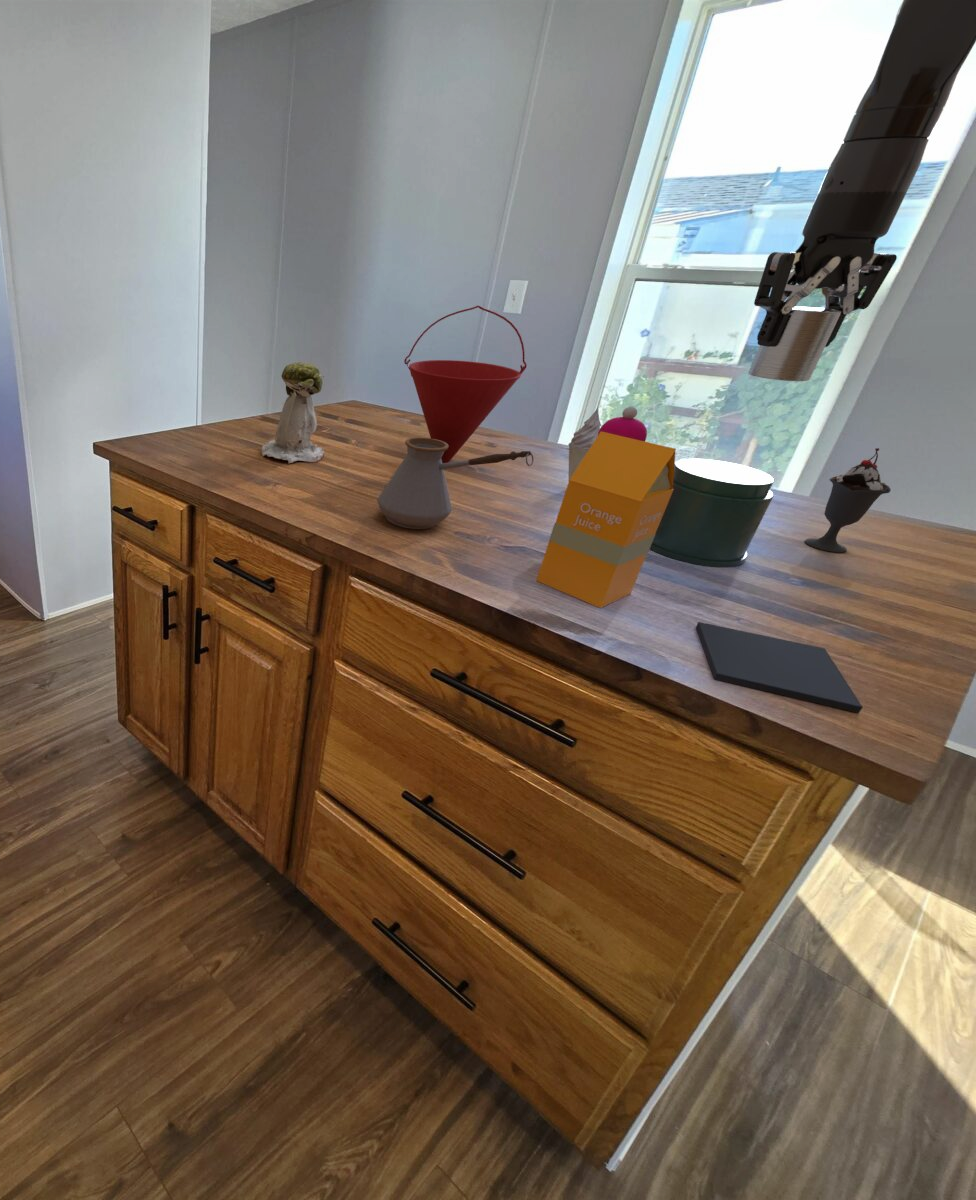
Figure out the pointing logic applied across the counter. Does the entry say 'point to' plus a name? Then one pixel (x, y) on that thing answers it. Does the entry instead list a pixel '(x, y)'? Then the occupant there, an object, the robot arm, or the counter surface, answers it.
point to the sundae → (850, 501)
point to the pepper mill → (626, 425)
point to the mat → (776, 666)
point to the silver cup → (796, 345)
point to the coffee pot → (426, 484)
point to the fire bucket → (459, 393)
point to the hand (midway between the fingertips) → (792, 345)
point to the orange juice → (608, 519)
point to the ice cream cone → (583, 441)
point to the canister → (712, 512)
